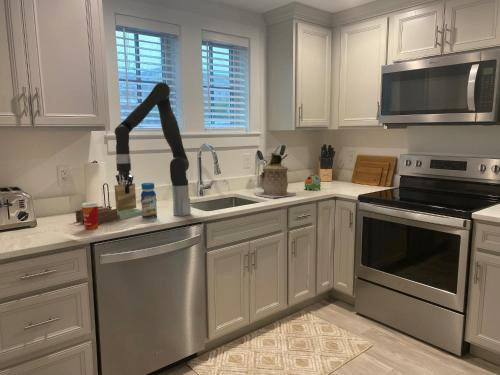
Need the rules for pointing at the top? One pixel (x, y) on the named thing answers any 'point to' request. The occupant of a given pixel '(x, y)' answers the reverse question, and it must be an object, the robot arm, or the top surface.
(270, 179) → the utensil crock
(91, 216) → the paper cup
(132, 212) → the tray
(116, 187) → the wood grain block
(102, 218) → the rack
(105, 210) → the offcut
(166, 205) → the top surface
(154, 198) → the beverage bottle
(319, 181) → the turtle holder
